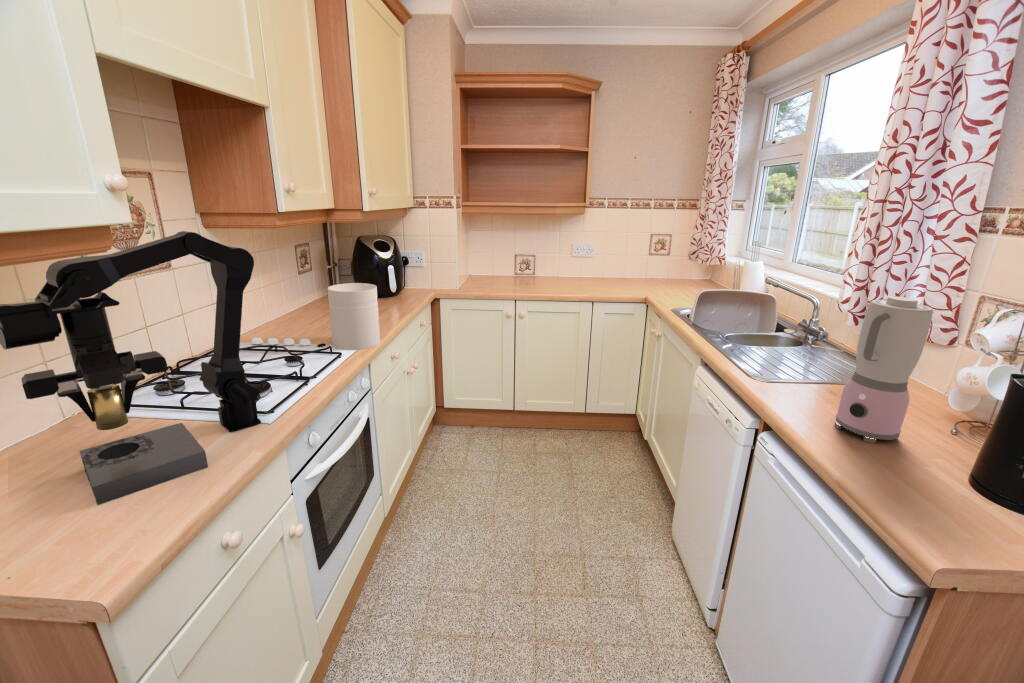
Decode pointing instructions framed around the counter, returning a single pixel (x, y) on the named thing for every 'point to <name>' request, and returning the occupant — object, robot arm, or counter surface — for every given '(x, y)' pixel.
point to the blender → (884, 368)
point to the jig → (141, 461)
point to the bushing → (108, 407)
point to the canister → (354, 315)
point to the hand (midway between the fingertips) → (110, 416)
